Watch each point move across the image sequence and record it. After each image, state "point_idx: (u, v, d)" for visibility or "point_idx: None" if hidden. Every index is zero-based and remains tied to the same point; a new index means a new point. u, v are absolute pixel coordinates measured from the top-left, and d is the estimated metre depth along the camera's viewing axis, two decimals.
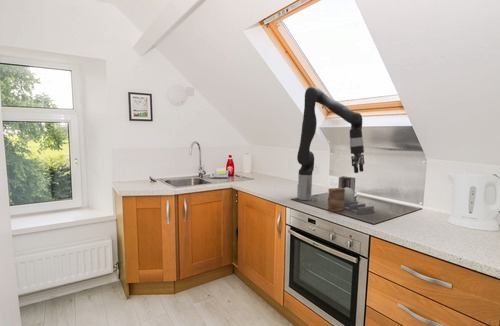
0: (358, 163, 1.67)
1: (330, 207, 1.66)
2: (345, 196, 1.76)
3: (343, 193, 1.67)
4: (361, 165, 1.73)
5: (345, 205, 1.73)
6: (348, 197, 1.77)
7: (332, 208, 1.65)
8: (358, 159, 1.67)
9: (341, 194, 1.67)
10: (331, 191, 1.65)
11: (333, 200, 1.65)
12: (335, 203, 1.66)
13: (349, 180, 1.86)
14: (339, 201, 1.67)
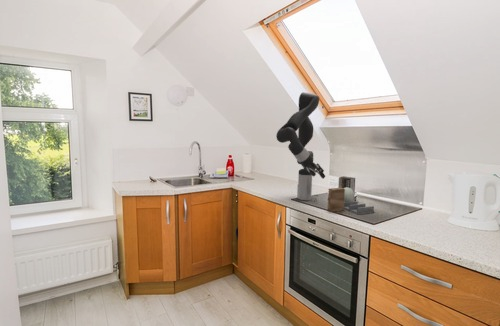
0: (308, 170, 1.62)
1: (330, 207, 1.66)
2: (345, 196, 1.76)
3: (343, 193, 1.67)
4: None
5: (345, 205, 1.73)
6: (348, 197, 1.77)
7: (332, 208, 1.65)
8: (307, 168, 1.60)
9: (341, 194, 1.67)
10: (331, 191, 1.65)
11: (333, 200, 1.65)
12: (335, 203, 1.66)
13: (349, 180, 1.86)
14: (338, 201, 1.67)
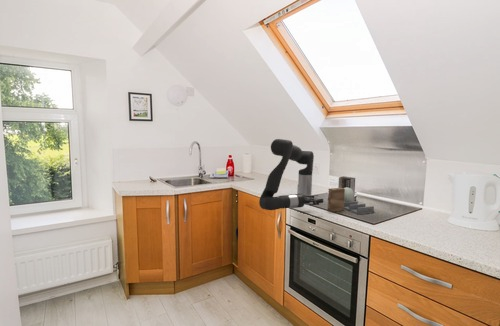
0: None
1: (330, 207, 1.66)
2: (345, 196, 1.76)
3: (343, 193, 1.67)
4: None
5: (345, 205, 1.73)
6: (348, 197, 1.77)
7: (332, 208, 1.65)
8: None
9: (341, 194, 1.67)
10: (331, 191, 1.65)
11: (333, 200, 1.65)
12: (335, 203, 1.66)
13: (349, 180, 1.86)
14: (339, 201, 1.67)
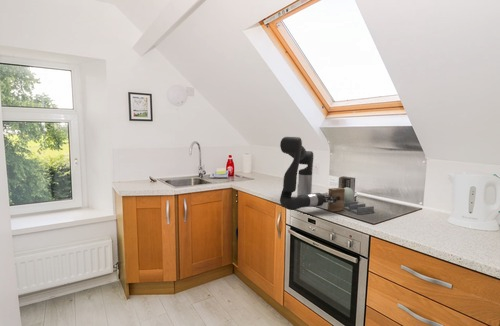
0: None
1: (330, 207, 1.66)
2: (345, 196, 1.76)
3: (343, 193, 1.67)
4: None
5: (345, 205, 1.73)
6: (348, 197, 1.77)
7: (332, 208, 1.65)
8: None
9: (341, 194, 1.67)
10: (331, 191, 1.65)
11: None
12: (335, 203, 1.66)
13: (349, 180, 1.86)
14: (339, 201, 1.67)
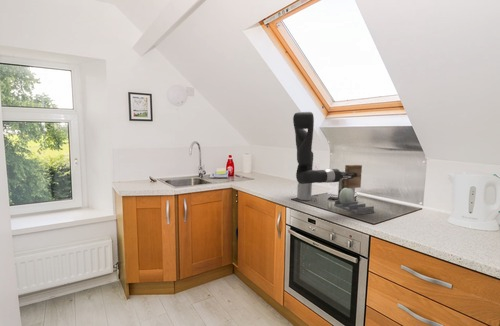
0: None
1: (347, 184, 1.62)
2: (345, 196, 1.76)
3: (360, 170, 1.64)
4: None
5: (345, 205, 1.73)
6: (348, 197, 1.77)
7: (349, 184, 1.62)
8: None
9: (358, 171, 1.63)
10: (348, 167, 1.61)
11: None
12: (352, 180, 1.62)
13: None
14: (355, 178, 1.63)
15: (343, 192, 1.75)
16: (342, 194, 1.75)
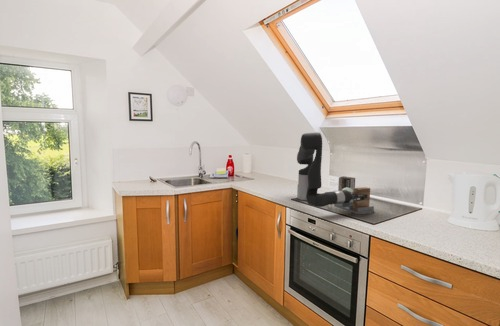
0: None
1: (355, 207, 1.63)
2: None
3: (368, 193, 1.64)
4: None
5: (345, 205, 1.73)
6: None
7: (357, 207, 1.63)
8: None
9: (367, 194, 1.64)
10: (357, 191, 1.62)
11: None
12: (360, 203, 1.63)
13: (349, 180, 1.86)
14: (364, 201, 1.64)
15: None
16: None
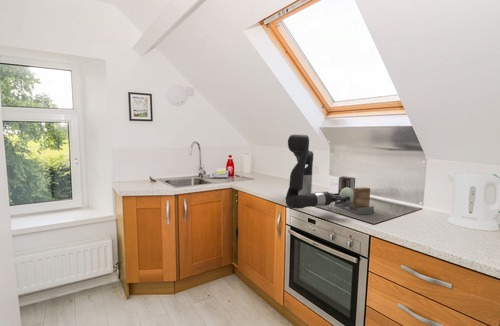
0: None
1: (355, 207, 1.63)
2: (345, 196, 1.76)
3: (368, 193, 1.64)
4: None
5: (345, 205, 1.73)
6: None
7: (357, 207, 1.63)
8: None
9: (367, 194, 1.64)
10: (357, 191, 1.62)
11: (358, 199, 1.62)
12: (360, 203, 1.63)
13: (349, 180, 1.86)
14: (364, 201, 1.64)
15: (343, 192, 1.75)
16: (342, 194, 1.75)
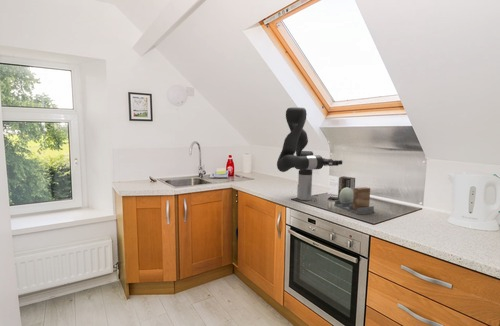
0: None
1: (355, 207, 1.63)
2: (345, 196, 1.76)
3: (368, 193, 1.64)
4: None
5: (345, 205, 1.73)
6: (348, 197, 1.77)
7: (357, 207, 1.63)
8: None
9: (367, 194, 1.64)
10: (357, 191, 1.62)
11: (358, 199, 1.62)
12: (360, 203, 1.63)
13: (349, 180, 1.86)
14: (364, 201, 1.64)
15: (343, 192, 1.75)
16: (342, 194, 1.75)
